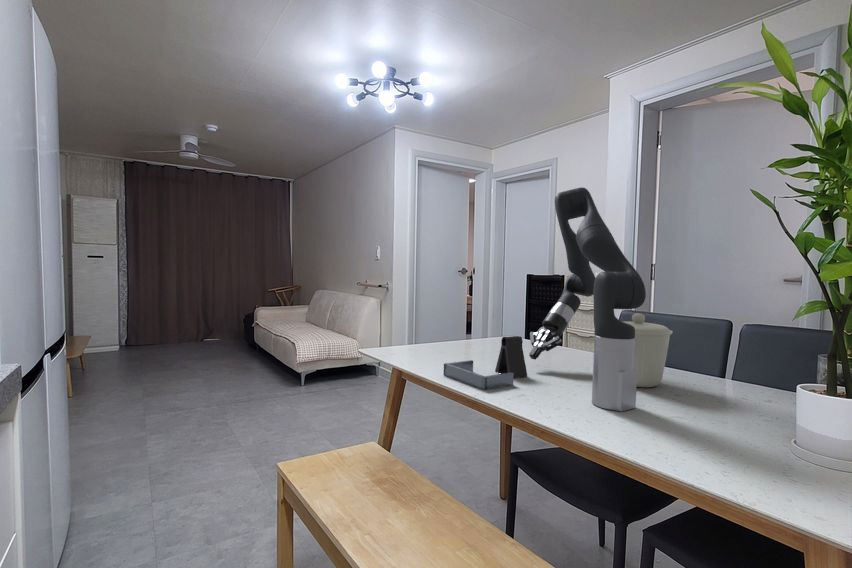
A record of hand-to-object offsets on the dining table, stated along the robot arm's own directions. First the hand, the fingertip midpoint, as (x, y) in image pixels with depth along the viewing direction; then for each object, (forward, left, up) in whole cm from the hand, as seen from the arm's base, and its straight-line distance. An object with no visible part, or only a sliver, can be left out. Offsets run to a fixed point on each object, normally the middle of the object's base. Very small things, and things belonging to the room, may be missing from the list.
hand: (532, 357), depth 142 cm
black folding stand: (0, +9, -5) cm, 10 cm away
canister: (-26, -17, -5) cm, 31 cm away
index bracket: (0, +23, -4) cm, 24 cm away
